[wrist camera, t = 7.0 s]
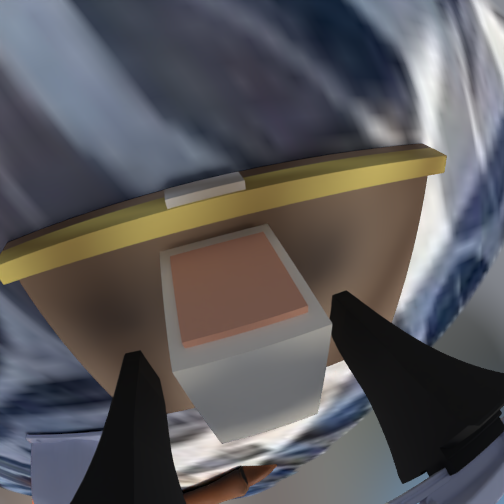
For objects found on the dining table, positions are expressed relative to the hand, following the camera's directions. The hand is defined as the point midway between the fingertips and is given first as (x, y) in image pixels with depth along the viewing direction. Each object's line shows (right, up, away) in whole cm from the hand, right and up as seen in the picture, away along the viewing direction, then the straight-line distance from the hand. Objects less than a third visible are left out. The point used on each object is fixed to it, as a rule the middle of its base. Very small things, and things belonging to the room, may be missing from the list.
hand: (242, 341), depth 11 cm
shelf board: (0, 0, +4) cm, 4 cm away
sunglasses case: (-5, -31, +25) cm, 41 cm away
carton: (-1, +1, +2) cm, 2 cm away
